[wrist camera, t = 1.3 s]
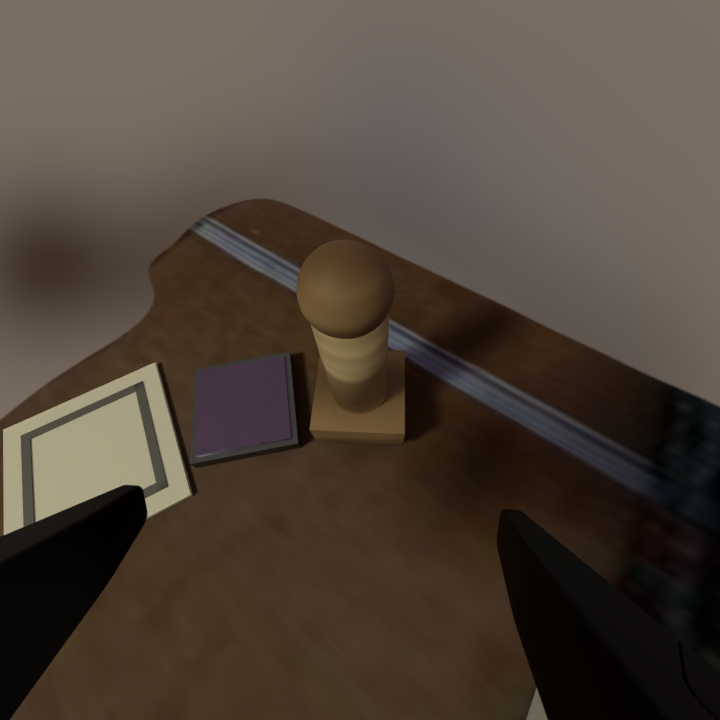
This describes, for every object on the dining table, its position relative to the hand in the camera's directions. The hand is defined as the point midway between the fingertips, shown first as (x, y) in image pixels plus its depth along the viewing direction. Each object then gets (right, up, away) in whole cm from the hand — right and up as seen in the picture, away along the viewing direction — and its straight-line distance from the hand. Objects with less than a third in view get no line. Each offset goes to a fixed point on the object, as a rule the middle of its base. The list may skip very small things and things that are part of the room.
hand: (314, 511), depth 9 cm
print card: (-17, -3, +15) cm, 23 cm away
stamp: (+1, 0, +16) cm, 16 cm away
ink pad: (-7, 0, +16) cm, 18 cm away
